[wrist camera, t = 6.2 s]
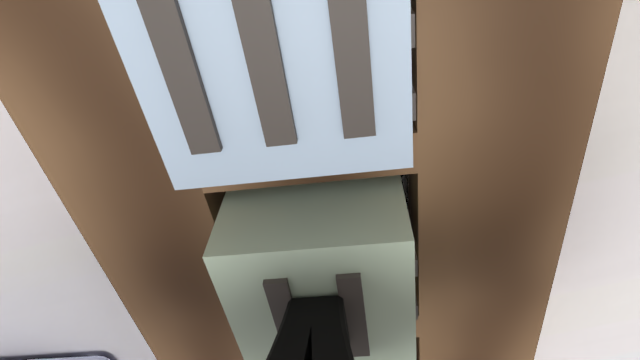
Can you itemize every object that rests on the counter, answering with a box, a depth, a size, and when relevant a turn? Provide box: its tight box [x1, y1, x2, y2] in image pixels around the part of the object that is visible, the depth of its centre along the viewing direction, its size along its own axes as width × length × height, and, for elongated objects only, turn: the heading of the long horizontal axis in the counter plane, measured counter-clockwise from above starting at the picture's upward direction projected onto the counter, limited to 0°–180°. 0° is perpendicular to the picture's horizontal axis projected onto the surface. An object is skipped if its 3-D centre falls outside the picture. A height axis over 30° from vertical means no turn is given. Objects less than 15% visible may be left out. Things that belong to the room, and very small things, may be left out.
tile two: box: [202, 175, 418, 360], centre depth 13 cm, size 5×5×4 cm
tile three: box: [98, 0, 416, 190], centre depth 9 cm, size 5×5×4 cm
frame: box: [0, 0, 623, 360], centre depth 14 cm, size 14×22×2 cm, turn 8°
